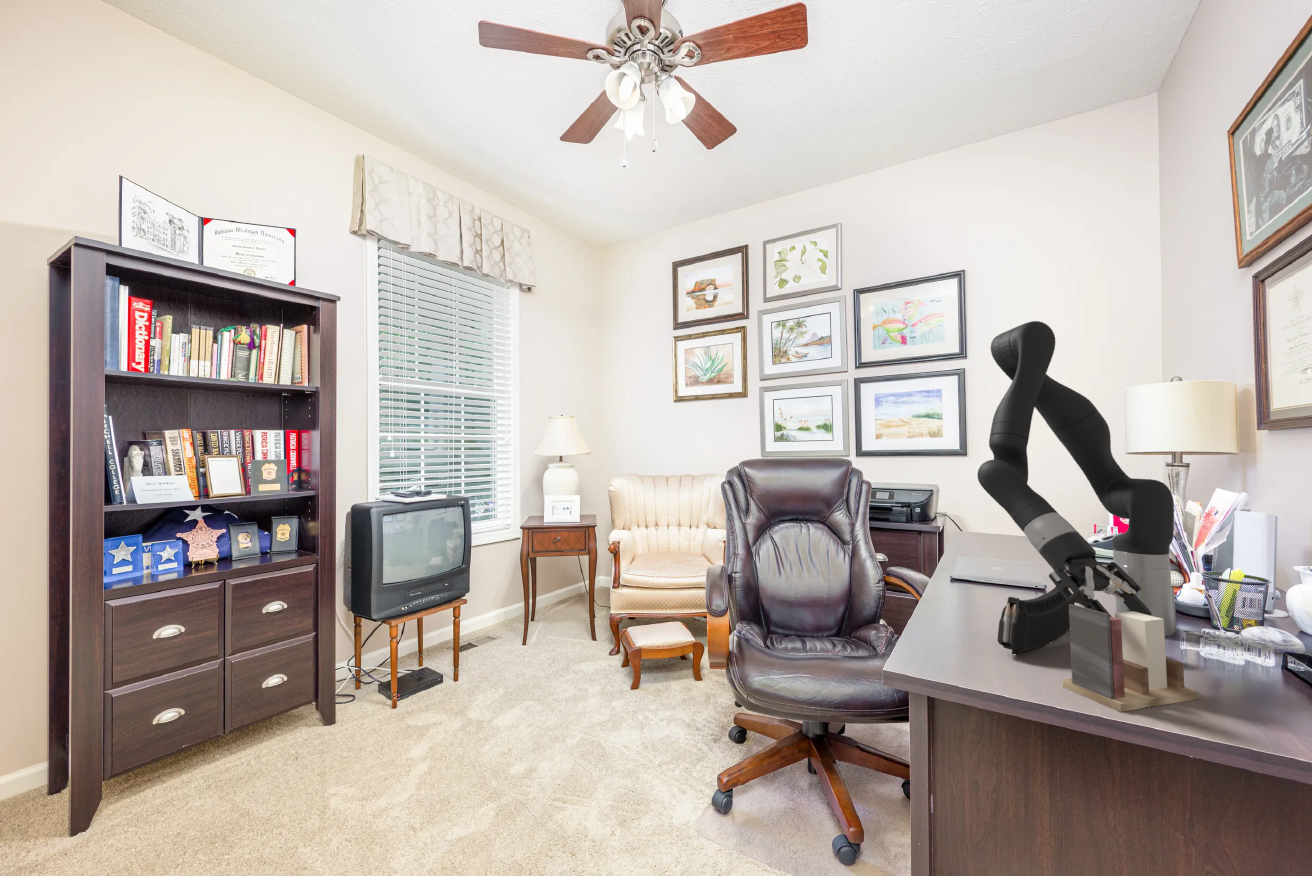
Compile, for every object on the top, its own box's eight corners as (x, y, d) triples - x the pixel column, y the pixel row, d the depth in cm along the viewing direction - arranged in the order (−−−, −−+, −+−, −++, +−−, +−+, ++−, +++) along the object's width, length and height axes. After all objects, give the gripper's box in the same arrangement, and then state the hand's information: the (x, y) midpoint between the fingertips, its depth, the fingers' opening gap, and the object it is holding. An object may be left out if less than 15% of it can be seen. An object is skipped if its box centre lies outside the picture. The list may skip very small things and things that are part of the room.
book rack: (1135, 676, 92) (1131, 594, 93) (1198, 699, 84) (1193, 608, 84) (1062, 686, 89) (1058, 601, 89) (1120, 711, 80) (1116, 617, 80)
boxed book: (1136, 676, 90) (1133, 611, 90) (1167, 687, 85) (1163, 618, 86) (1118, 679, 89) (1114, 613, 89) (1148, 690, 84) (1144, 621, 85)
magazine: (1063, 584, 121) (1003, 562, 106) (1080, 587, 119) (1022, 565, 103) (1057, 661, 118) (995, 650, 102) (1075, 666, 115) (1014, 655, 100)
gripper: (1040, 532, 97) (1111, 613, 85) (1100, 527, 100) (1176, 604, 88) (1016, 556, 102) (1079, 635, 90) (1074, 551, 105) (1142, 626, 93)
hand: (1127, 620), depth 89 cm, fingers open, 8 cm apart
